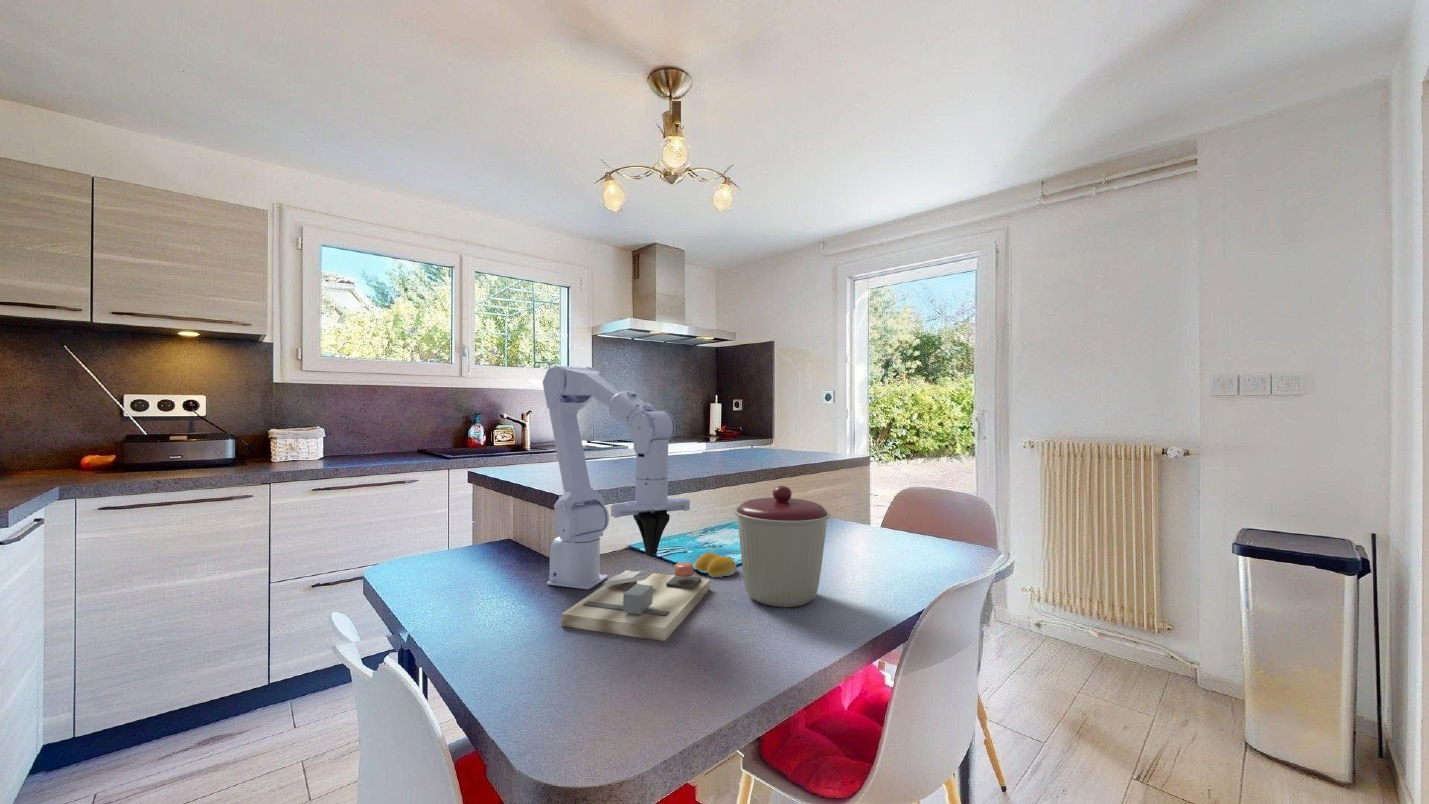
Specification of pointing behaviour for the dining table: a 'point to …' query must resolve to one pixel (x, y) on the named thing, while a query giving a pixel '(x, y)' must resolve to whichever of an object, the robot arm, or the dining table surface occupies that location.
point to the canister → (781, 548)
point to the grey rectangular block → (637, 599)
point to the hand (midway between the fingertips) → (650, 553)
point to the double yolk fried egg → (716, 565)
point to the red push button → (684, 569)
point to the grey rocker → (629, 577)
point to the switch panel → (655, 622)
